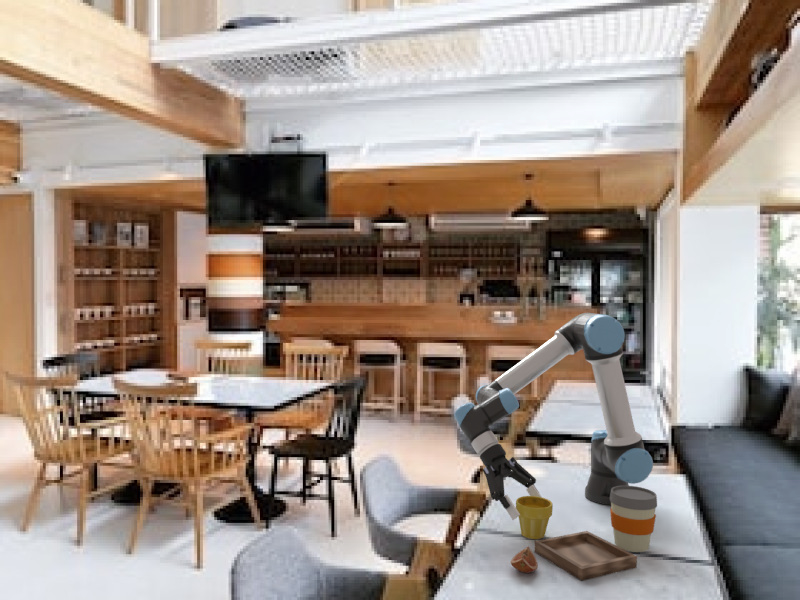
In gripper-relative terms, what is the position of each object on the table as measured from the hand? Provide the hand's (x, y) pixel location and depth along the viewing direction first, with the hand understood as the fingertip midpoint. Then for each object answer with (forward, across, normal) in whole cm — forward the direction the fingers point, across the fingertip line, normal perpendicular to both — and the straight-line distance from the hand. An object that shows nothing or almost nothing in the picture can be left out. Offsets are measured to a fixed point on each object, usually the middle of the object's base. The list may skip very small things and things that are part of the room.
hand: (529, 511), depth 190 cm
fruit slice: (+14, +21, +4) cm, 26 cm away
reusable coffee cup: (+22, -15, +12) cm, 29 cm away
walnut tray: (+18, +4, +9) cm, 21 cm away
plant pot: (+6, -1, -4) cm, 7 cm away
